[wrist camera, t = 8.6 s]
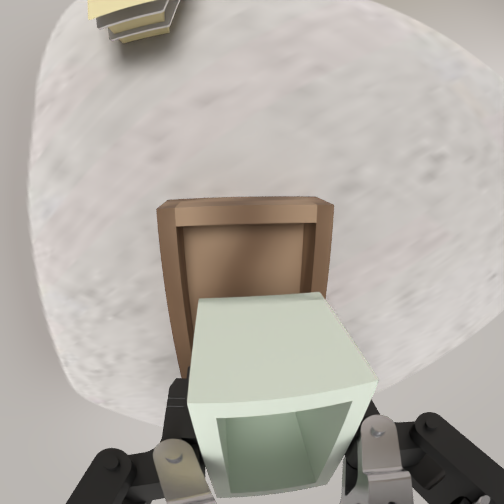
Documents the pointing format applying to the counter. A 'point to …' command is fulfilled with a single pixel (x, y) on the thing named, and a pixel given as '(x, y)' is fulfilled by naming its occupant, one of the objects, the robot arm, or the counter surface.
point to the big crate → (239, 253)
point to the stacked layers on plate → (133, 17)
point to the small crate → (274, 392)
